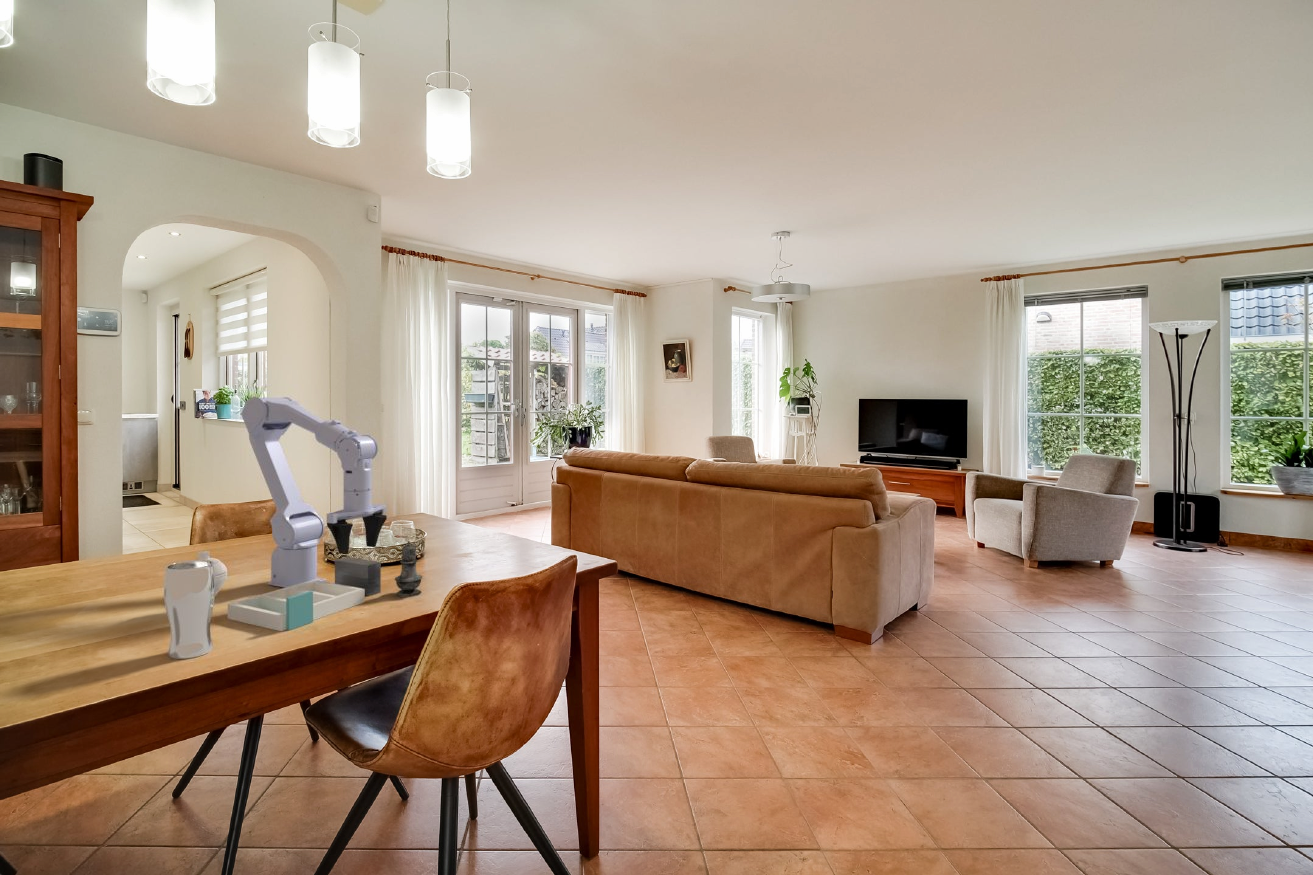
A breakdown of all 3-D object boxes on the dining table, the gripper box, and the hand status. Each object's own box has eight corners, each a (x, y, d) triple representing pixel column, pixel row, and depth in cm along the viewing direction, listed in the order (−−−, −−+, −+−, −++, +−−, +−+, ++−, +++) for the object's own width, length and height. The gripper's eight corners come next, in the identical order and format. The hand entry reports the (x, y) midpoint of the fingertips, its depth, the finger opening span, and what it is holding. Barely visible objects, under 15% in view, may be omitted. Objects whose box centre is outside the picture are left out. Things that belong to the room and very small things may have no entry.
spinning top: (236, 607, 129) (236, 549, 128) (198, 619, 122) (198, 557, 121) (210, 602, 131) (209, 545, 131) (171, 613, 124) (170, 553, 123)
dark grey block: (334, 590, 142) (334, 560, 141) (347, 586, 145) (347, 556, 145) (368, 596, 138) (368, 565, 138) (380, 592, 141) (380, 561, 141)
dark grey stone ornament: (412, 598, 138) (413, 544, 137) (388, 596, 139) (389, 542, 138) (427, 590, 143) (428, 538, 143) (404, 588, 144) (404, 536, 144)
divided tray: (227, 618, 122) (227, 588, 122) (314, 592, 140) (314, 565, 139) (284, 632, 116) (284, 600, 116) (367, 602, 134) (367, 575, 133)
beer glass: (182, 644, 109) (181, 559, 109) (225, 643, 110) (224, 559, 109) (154, 660, 102) (152, 570, 102) (199, 660, 103) (198, 570, 102)
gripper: (343, 495, 132) (343, 559, 133) (396, 487, 145) (396, 545, 146) (319, 492, 135) (319, 555, 135) (373, 485, 148) (373, 542, 149)
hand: (357, 549), depth 141 cm, fingers open, 7 cm apart
